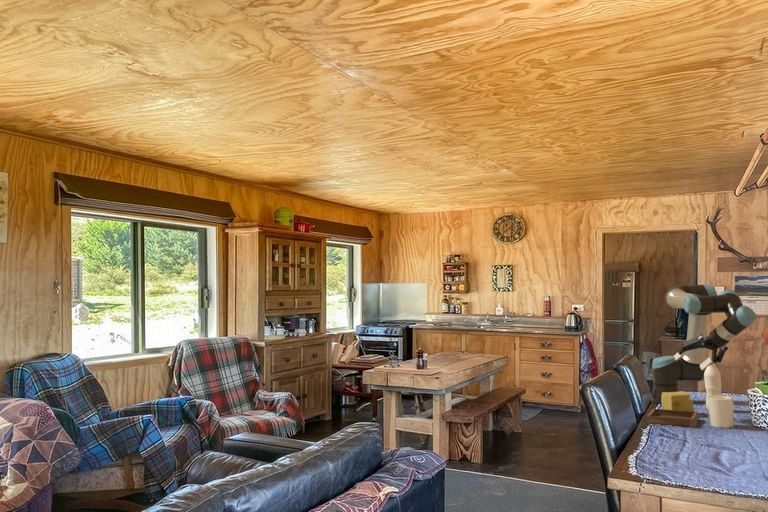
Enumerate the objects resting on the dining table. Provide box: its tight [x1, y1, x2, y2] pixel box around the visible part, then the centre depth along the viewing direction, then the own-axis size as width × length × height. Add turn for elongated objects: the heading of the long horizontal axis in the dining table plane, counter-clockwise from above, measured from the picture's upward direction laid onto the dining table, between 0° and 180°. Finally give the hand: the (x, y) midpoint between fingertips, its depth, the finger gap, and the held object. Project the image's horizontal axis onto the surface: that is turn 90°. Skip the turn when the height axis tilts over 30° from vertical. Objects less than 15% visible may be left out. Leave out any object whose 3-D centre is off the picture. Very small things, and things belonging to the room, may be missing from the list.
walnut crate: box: [645, 408, 699, 429], centre depth 260 cm, size 18×18×4 cm
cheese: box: [661, 390, 696, 412], centre depth 275 cm, size 10×11×10 cm
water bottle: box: [704, 363, 722, 411], centre depth 282 cm, size 7×7×25 cm
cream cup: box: [706, 395, 734, 429], centre depth 250 cm, size 10×10×12 cm
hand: (688, 363), depth 263 cm, fingers open, 13 cm apart
